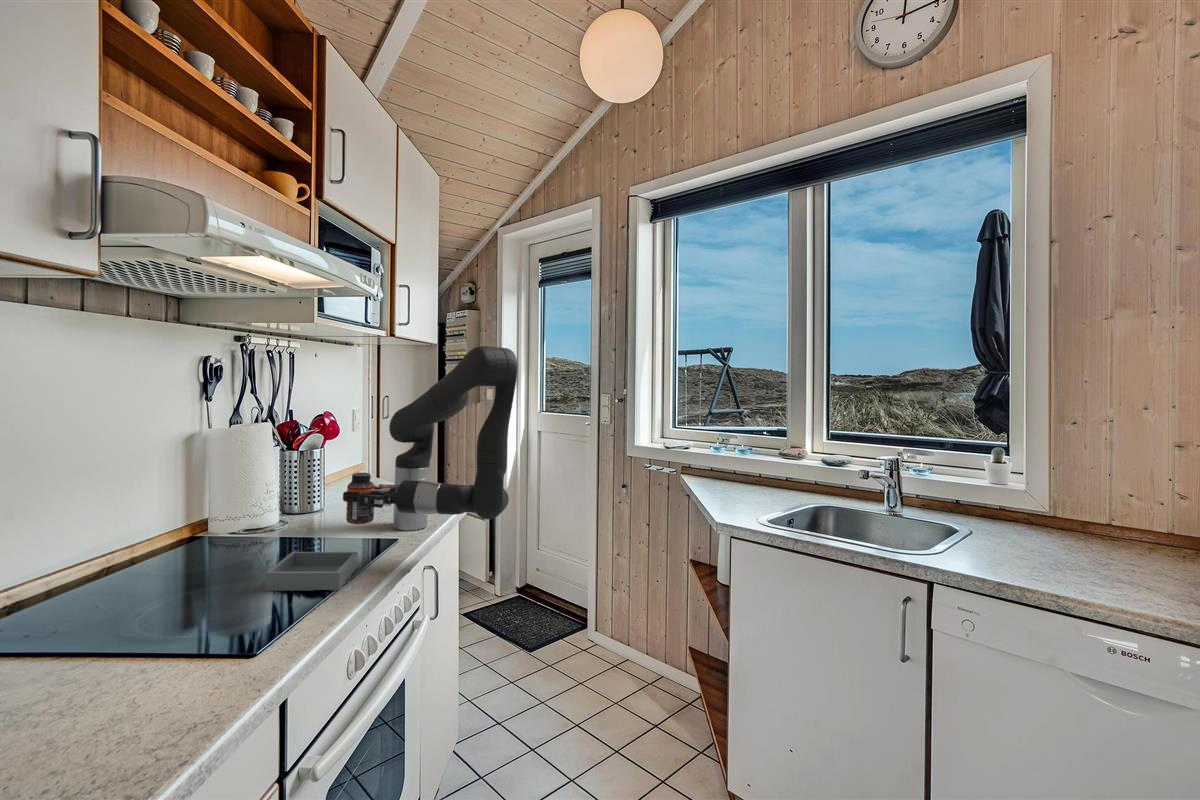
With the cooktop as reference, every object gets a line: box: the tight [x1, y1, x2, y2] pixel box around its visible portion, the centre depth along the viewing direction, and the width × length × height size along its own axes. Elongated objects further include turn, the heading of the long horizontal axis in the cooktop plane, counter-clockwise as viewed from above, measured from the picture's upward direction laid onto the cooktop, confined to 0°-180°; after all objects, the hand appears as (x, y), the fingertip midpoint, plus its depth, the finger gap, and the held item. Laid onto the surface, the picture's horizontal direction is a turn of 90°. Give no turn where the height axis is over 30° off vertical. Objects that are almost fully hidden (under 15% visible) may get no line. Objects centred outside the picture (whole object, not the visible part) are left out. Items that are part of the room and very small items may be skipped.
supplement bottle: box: [346, 472, 375, 525], centre depth 134 cm, size 6×6×11 cm
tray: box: [264, 551, 359, 592], centre depth 119 cm, size 14×14×4 cm
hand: (350, 493), depth 134 cm, fingers closed on supplement bottle, 6 cm apart
